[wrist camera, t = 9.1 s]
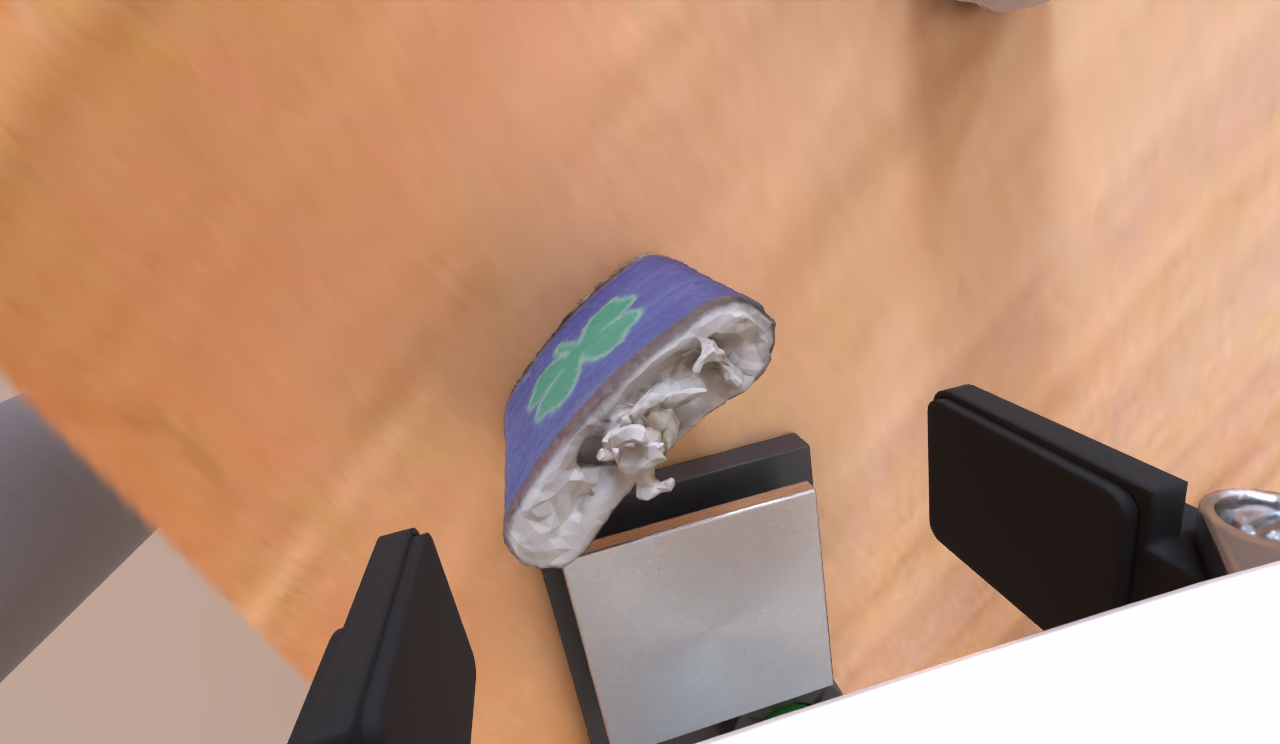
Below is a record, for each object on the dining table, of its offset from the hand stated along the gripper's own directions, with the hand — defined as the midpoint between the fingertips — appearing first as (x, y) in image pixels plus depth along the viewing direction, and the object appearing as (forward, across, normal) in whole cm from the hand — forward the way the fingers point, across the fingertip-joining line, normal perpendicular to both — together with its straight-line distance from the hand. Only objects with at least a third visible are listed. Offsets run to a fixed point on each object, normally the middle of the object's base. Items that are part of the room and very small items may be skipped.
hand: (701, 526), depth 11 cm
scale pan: (+10, -2, +12) cm, 16 cm away
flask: (+14, 0, 0) cm, 14 cm away
